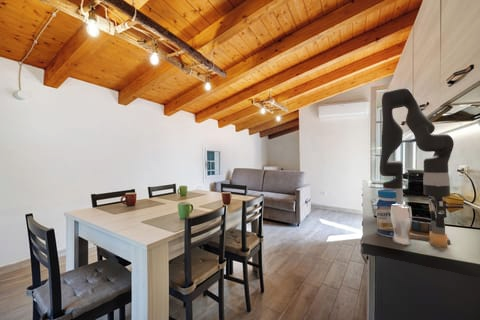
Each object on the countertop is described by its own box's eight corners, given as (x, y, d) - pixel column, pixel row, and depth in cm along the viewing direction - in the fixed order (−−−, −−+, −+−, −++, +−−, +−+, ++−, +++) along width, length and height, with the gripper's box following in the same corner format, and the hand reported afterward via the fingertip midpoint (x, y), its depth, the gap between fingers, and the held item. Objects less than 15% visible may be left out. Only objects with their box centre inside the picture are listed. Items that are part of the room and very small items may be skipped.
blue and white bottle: (404, 236, 88) (403, 191, 88) (390, 239, 85) (389, 192, 86) (385, 230, 96) (384, 188, 96) (372, 232, 93) (371, 190, 94)
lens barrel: (406, 224, 99) (405, 215, 99) (434, 228, 93) (434, 218, 93) (408, 231, 90) (408, 221, 90) (440, 235, 84) (440, 224, 84)
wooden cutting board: (400, 224, 104) (400, 221, 104) (437, 229, 96) (437, 226, 96) (405, 237, 87) (405, 233, 87) (450, 244, 79) (450, 240, 79)
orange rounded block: (428, 241, 83) (427, 219, 83) (445, 243, 80) (444, 221, 80) (431, 245, 78) (430, 222, 79) (449, 248, 76) (448, 224, 76)
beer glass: (391, 237, 87) (390, 203, 87) (412, 241, 83) (411, 205, 83) (390, 242, 82) (389, 206, 82) (412, 247, 77) (411, 208, 77)
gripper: (420, 181, 87) (421, 219, 87) (427, 185, 76) (428, 227, 75) (444, 182, 83) (445, 221, 83) (455, 186, 71) (456, 231, 71)
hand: (437, 224), depth 79 cm, fingers open, 8 cm apart
